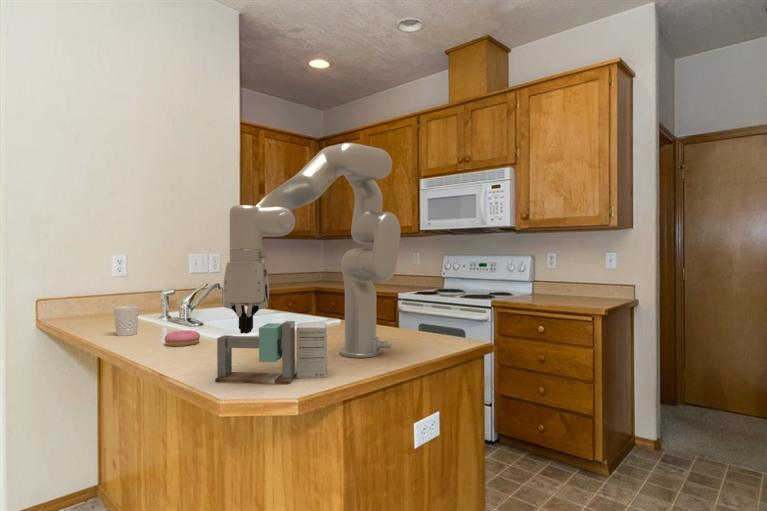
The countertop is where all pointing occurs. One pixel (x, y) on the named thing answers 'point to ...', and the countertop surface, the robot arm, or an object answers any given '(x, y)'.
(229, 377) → the board
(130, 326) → the white cup
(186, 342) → the doughnut
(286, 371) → the rail
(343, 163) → the robot arm
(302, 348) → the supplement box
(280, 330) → the teal sliding block
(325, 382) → the countertop surface
